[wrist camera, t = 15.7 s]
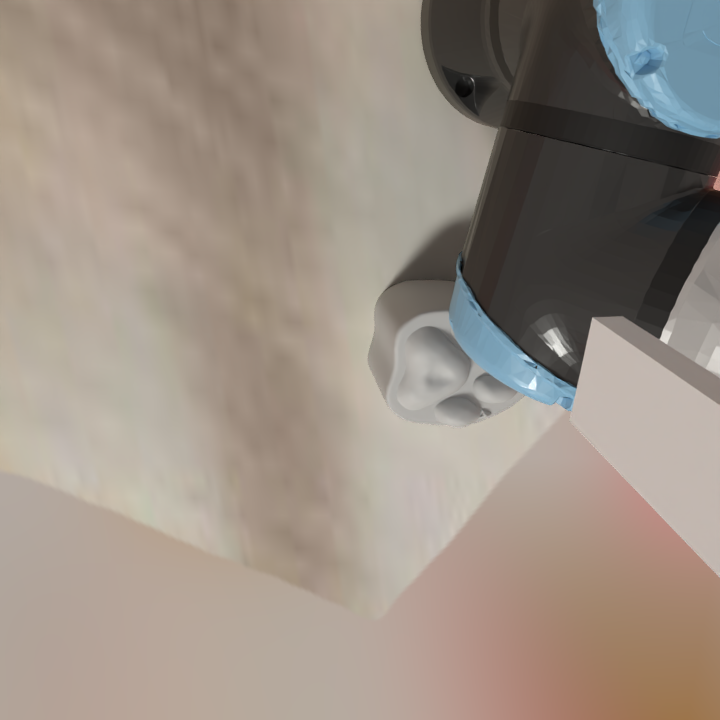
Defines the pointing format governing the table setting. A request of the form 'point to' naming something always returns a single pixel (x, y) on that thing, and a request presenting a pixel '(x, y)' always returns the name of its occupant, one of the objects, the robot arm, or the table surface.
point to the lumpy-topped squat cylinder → (429, 360)
